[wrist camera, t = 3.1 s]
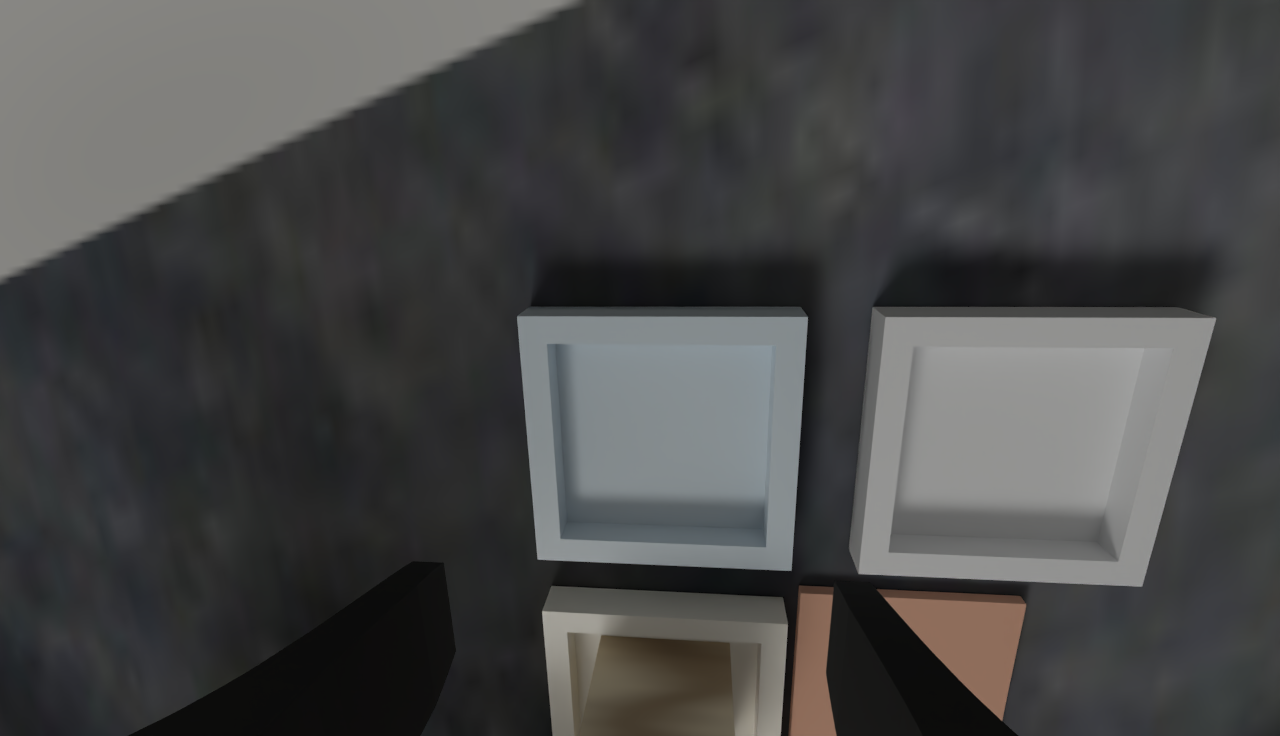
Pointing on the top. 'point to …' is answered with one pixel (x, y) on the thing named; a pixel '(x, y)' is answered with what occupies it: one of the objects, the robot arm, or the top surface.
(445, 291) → the top surface
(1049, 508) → the grey tray
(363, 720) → the robot arm
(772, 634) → the cream tray
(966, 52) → the top surface
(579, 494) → the blue-grey tray
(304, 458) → the top surface
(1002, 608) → the terracotta mat
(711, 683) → the letter cube
